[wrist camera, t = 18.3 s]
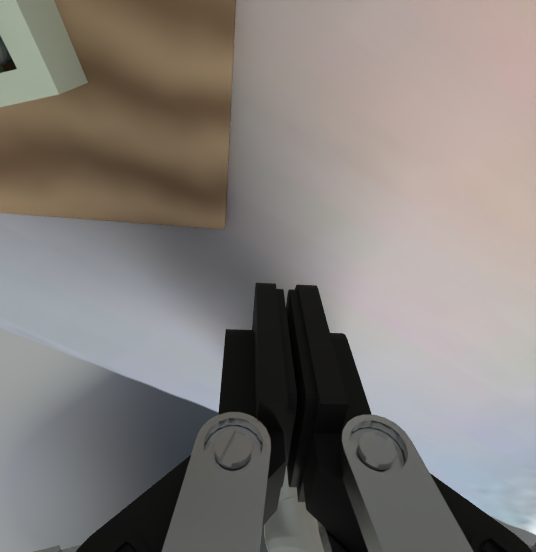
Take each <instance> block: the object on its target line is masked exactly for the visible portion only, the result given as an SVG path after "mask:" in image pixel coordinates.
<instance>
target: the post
mask: <svg viewBox="0 0 536 552" xmlns="http://www.w3.org/2000/svg"><path fill="white" fill-rule="evenodd" d="M8 63H13V60H12V58H11V56H10V54H9V52H8V50H7V48H6V46H5V44H4V42H3V40H2V38H1V36H0V65H3V64H8Z"/></svg>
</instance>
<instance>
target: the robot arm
mask: <svg viewBox="0 0 536 552" xmlns="http://www.w3.org/2000/svg"><path fill="white" fill-rule="evenodd" d="M263 525H264V532H265V533H264V534H265V542H266V546H267V550H268V552H536V543H535V544H534V545H533V546H530V545H527V544H525V543H524V542H523V541H522V540H521V539H520V538H519V537H517V536H516V535H515V534H514V533H512V532H511V531H510V530H508V529H507V528H505V527H504V526H503V525H501V524H500V523H499V522H497V521H496V520H494V519H493V518H492V517H490V516H489V515H487V514H486V513H485V512H483V511H482V510H480V509H479V508H478V507H476V506H475V505H473V504H472V503H471V502H469V501H468V500H467V499H465V498H464V497H462V496H461V495H460V494H458V493H457V492H455V491H454V490H453V489H451V488H450V487H448V486H447V485H446V484H444V483H443V482H441V481H440V480H439V479H437V478H436V477H434V476H433V475H432V474H430V473H429V471H428V469H427V468H426V466H425V464H424V462H423V461H422V459H421V457H420V455H419V453H418V452H417V450H416V448H415V446H414V445H413V443H412V441H411V440H410V438H409V437H408V435H407V434H406V433H405V431H404V430H402V429H401V428H400V427H399V426H398V425H397V424H395V423H394V422H392V421H390V420H388V419H386V418H384V417H380V416H377V415H372V414H371V411H370V408H369V405H368V402H367V399H366V396H365V393H364V390H363V387H362V383H361V380H360V377H359V374H358V371H357V368H356V365H355V362H354V359H353V356H352V352H351V349H350V346H349V343H348V340H347V338H346V335H345V334H343V333H330V332H329V328H328V324H327V321H326V317H325V313H324V309H323V306H322V302H321V298H320V295H319V291H318V288H317V286H314V285H296V288H295V290H289V291H288V296H287V304H286V306H285V299H284V291H283V289H276V284H270V283H256V286H255V298H254V312H253V325H252V330H230V329H226V334H225V346H224V357H223V369H222V381H221V393H220V404H219V415H217V416H215V417H214V418H212V419H210V420H209V421H208V422H207V423H206V424H205V425H204V426H203V427H202V428H201V430H200V432H199V434H198V436H197V438H196V441H195V445H194V448H193V451H192V455H190V456H189V457H188V458H187V459H185V460H184V461H183V462H182V463H180V464H179V465H178V466H177V467H175V468H174V469H173V470H172V471H171V472H169V473H168V474H167V475H166V476H164V477H163V478H162V479H161V480H159V481H158V482H157V483H156V484H154V485H153V486H152V487H151V488H149V489H148V490H147V491H146V492H144V493H143V494H142V495H141V496H139V497H138V498H137V499H136V500H135V501H133V502H132V503H131V504H129V505H128V506H127V507H126V508H125V509H123V510H122V511H121V512H120V513H118V514H117V515H116V516H115V517H114V518H112V519H111V520H110V521H108V522H107V523H106V524H105V525H104V526H102V527H101V528H100V529H98V530H97V531H96V532H95V533H94V534H92V535H91V536H90V537H89V538H88V539H87V540H86V541H85V542H84V543H83V544H82V545H79V546H75V547H71V548H67V549H63V550H61V548H60V546H59V545H58V546H55V547H51V548H47V549H43V550H39V551H35V552H259V550H260V541H261V531H262V526H263Z"/></svg>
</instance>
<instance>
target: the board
mask: <svg viewBox="0 0 536 552" xmlns="http://www.w3.org/2000/svg"><path fill="white" fill-rule="evenodd" d="M54 1H55V4H56V6H57V9H58V11H59V13H60V16H61V18H62V21H63V23H64V26H65V28H66V30H67V33H68V35H69V38H70V40H71V43H72V45H73V47H74V50H75V52H76V55H77V57H78V60H79V62H80V64H81V67H82V69H83V72H84V74H85V77H86V79H87V81H88V83H86V84H84V85H81V86H79V87H76V88H74V89H71V90H69V91H66V92H64V93H61V94H59V95H54V96H50V97H45V98H41V99H36V100H31V101H27V102H22V103H18V104H13V105H9V106H4V107H0V213H10V214H24V215H37V216H51V217H65V218H78V219H92V220H106V221H119V222H133V223H146V224H160V225H174V226H187V227H201V228H215V229H225V221H226V200H227V179H228V157H229V136H230V114H231V93H232V72H233V50H234V29H235V7H236V0H54ZM2 67H3V69H4V71H5V72H6V71H11V70H15V69H17V68H16V66H15V64H14V62H13V63H8V64H3V65H2Z"/></svg>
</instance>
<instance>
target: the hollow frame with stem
mask: <svg viewBox="0 0 536 552" xmlns="http://www.w3.org/2000/svg"><path fill="white" fill-rule="evenodd" d="M0 36H1V38H2V40H3V42H4V44H5V46H6V48H7V50H8V52H9V54H10V56H11V58H12V60H13V62H14V64H15V66H16V68H17V69H15V70H11V71H6V72H5V71H4V69H3V67H2V65H0V107H4V106H9V105H13V104H18V103H22V102H27V101H31V100H36V99H41V98H45V97H50V96H54V95H59V94H61V93H64V92H66V91H69V90H71V89H74V88H76V87H79V86H81V85H84V84H86V83H88V81H87V79H86V77H85V74H84V72H83V69H82V67H81V64H80V62H79V60H78V57H77V55H76V52H75V50H74V47H73V45H72V43H71V40H70V38H69V35H68V33H67V30H66V28H65V26H64V23H63V21H62V18H61V16H60V13H59V11H58V9H57V6H56V4H55V1H54V0H0Z"/></svg>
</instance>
